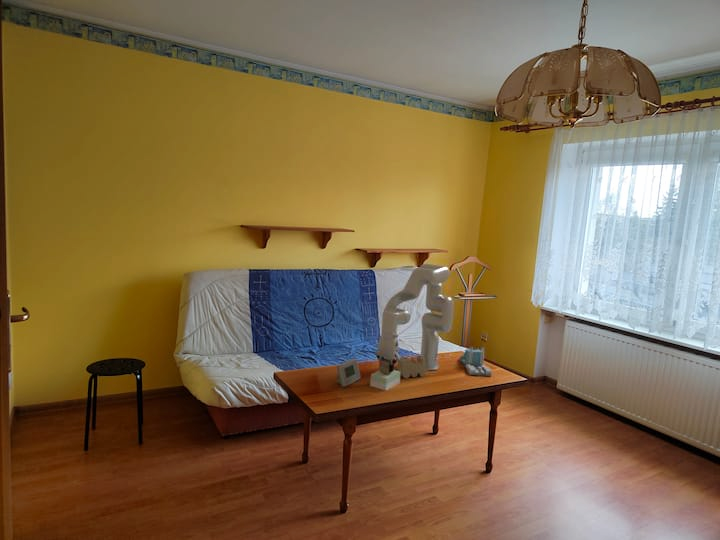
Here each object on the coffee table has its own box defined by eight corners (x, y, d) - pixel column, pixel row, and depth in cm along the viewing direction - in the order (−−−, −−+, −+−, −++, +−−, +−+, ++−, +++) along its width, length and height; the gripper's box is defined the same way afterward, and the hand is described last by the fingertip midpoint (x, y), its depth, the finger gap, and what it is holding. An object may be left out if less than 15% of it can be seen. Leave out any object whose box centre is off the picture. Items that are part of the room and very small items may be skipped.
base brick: (384, 378, 243) (385, 367, 243) (399, 382, 239) (400, 371, 238) (370, 385, 232) (371, 374, 231) (385, 390, 227) (386, 378, 226)
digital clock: (342, 388, 226) (344, 367, 225) (330, 383, 233) (331, 362, 231) (365, 381, 238) (366, 361, 237) (352, 376, 244) (353, 356, 243)
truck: (478, 361, 285) (480, 337, 284) (491, 377, 257) (494, 351, 255) (458, 360, 285) (460, 336, 284) (469, 376, 257) (472, 349, 255)
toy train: (427, 376, 251) (429, 358, 250) (400, 379, 245) (401, 360, 243) (422, 373, 256) (424, 355, 255) (395, 375, 250) (396, 357, 248)
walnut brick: (384, 369, 238) (385, 357, 237) (392, 371, 235) (393, 359, 234) (379, 371, 234) (380, 359, 233) (387, 373, 231) (388, 362, 230)
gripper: (407, 337, 231) (404, 372, 233) (378, 330, 240) (376, 364, 242) (399, 340, 224) (397, 376, 227) (370, 333, 234) (368, 368, 236)
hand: (386, 370), depth 234 cm, fingers closed on walnut brick, 4 cm apart
